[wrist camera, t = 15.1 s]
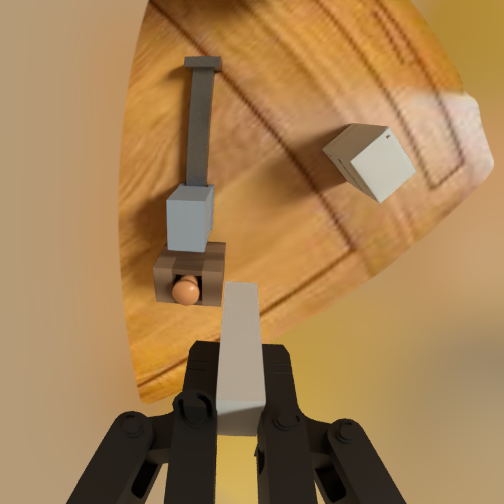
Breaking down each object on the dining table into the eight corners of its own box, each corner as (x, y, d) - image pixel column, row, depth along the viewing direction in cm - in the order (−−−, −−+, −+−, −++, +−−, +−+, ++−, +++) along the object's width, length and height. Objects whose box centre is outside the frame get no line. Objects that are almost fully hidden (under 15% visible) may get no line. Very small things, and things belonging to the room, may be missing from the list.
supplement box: (319, 149, 41) (348, 160, 30) (352, 122, 39) (390, 124, 28) (346, 183, 44) (379, 205, 33) (377, 156, 42) (418, 171, 30)
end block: (168, 239, 47) (152, 267, 38) (225, 242, 48) (222, 272, 39) (169, 269, 50) (156, 301, 41) (224, 273, 51) (220, 306, 42)
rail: (189, 62, 34) (184, 56, 31) (222, 62, 35) (220, 56, 31) (182, 240, 47) (177, 250, 44) (211, 241, 48) (208, 252, 44)
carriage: (180, 183, 43) (164, 199, 34) (214, 184, 43) (206, 201, 34) (180, 224, 46) (166, 249, 37) (212, 226, 46) (205, 252, 37)
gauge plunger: (180, 260, 43) (171, 282, 37) (203, 261, 43) (198, 284, 38) (180, 280, 45) (173, 304, 39) (203, 282, 45) (198, 306, 39)
